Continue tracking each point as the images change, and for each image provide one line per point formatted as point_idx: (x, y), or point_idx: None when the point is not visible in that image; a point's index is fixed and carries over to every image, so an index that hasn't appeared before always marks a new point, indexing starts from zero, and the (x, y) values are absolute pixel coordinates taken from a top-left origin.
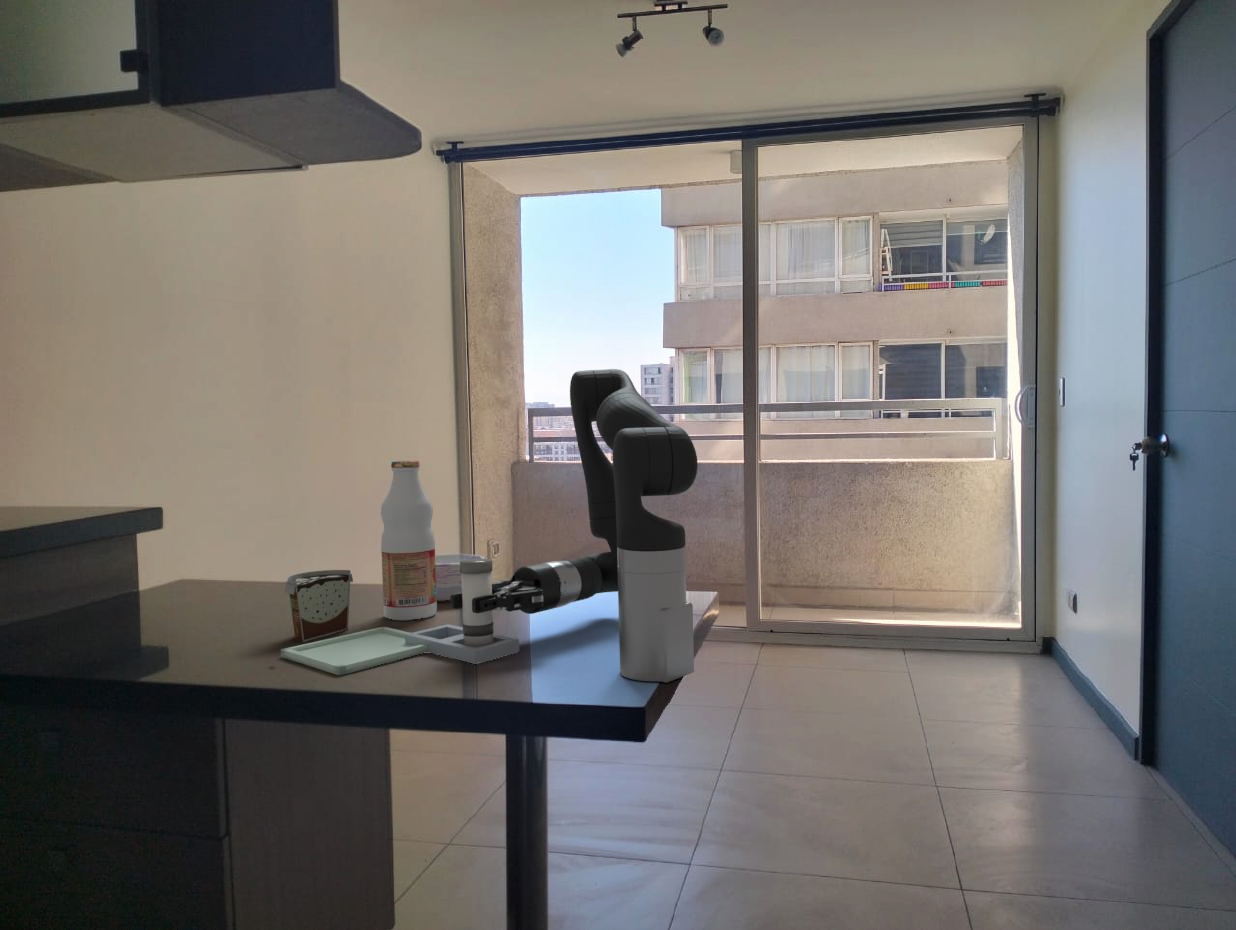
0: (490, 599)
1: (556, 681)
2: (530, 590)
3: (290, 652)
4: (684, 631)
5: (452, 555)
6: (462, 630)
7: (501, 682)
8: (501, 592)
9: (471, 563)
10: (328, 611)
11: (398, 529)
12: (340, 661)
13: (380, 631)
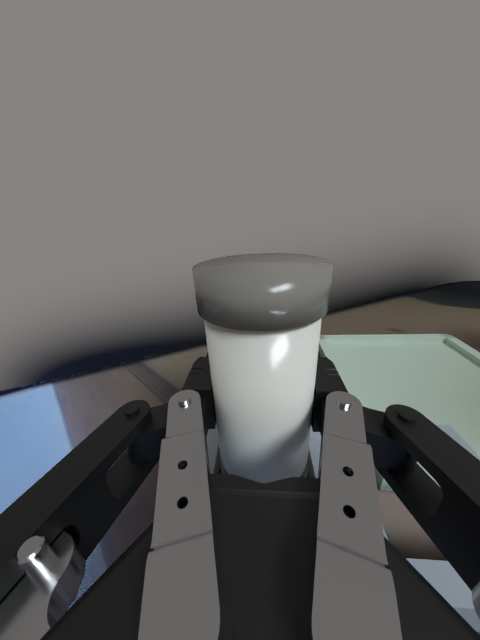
0: (187, 377)
1: (14, 450)
2: (29, 535)
3: (425, 334)
4: None
5: None
6: (442, 561)
7: (117, 406)
8: (183, 413)
9: (230, 256)
10: None
11: None
12: (359, 350)
13: None
